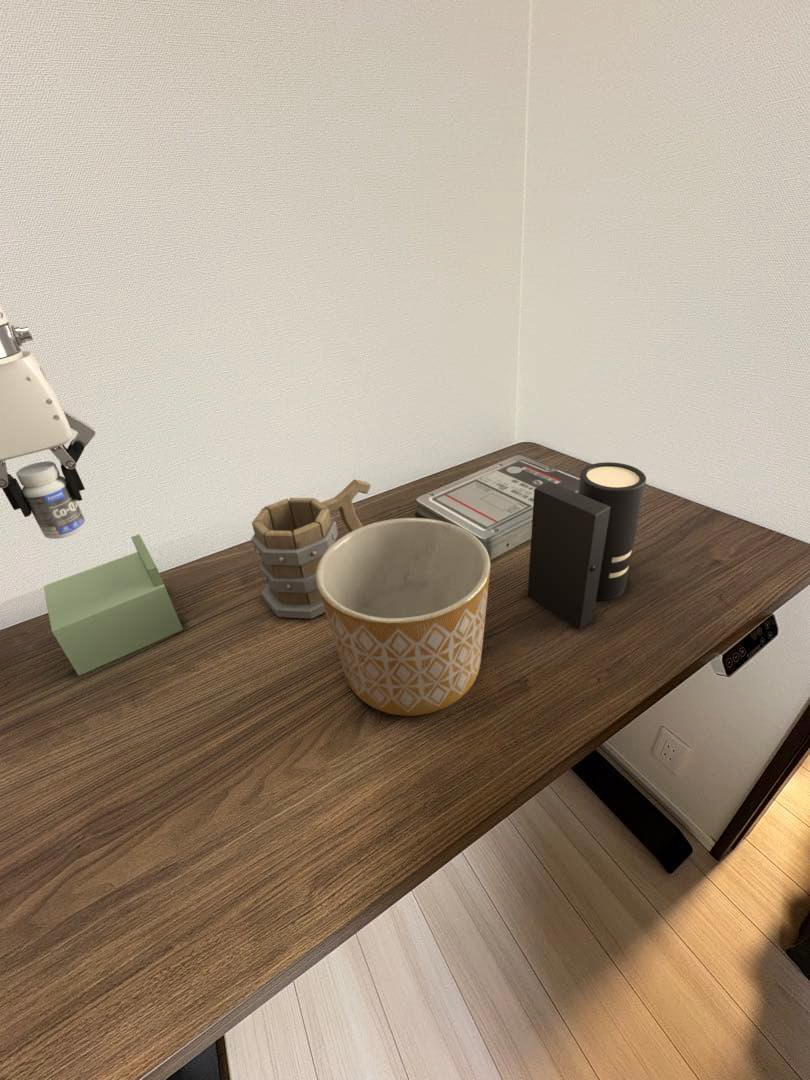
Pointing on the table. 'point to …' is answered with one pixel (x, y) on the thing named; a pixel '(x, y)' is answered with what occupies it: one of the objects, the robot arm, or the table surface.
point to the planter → (407, 611)
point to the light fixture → (584, 540)
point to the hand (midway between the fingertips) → (52, 502)
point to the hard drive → (494, 501)
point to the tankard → (299, 548)
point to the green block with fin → (110, 610)
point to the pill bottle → (50, 500)
